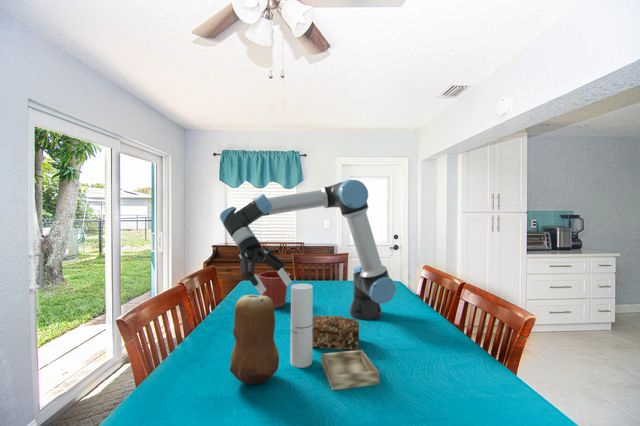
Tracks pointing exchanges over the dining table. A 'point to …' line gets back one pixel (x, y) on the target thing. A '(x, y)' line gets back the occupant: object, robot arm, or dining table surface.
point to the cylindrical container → (301, 325)
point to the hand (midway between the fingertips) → (277, 288)
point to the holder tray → (349, 369)
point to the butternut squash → (254, 340)
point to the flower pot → (274, 287)
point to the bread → (335, 332)
